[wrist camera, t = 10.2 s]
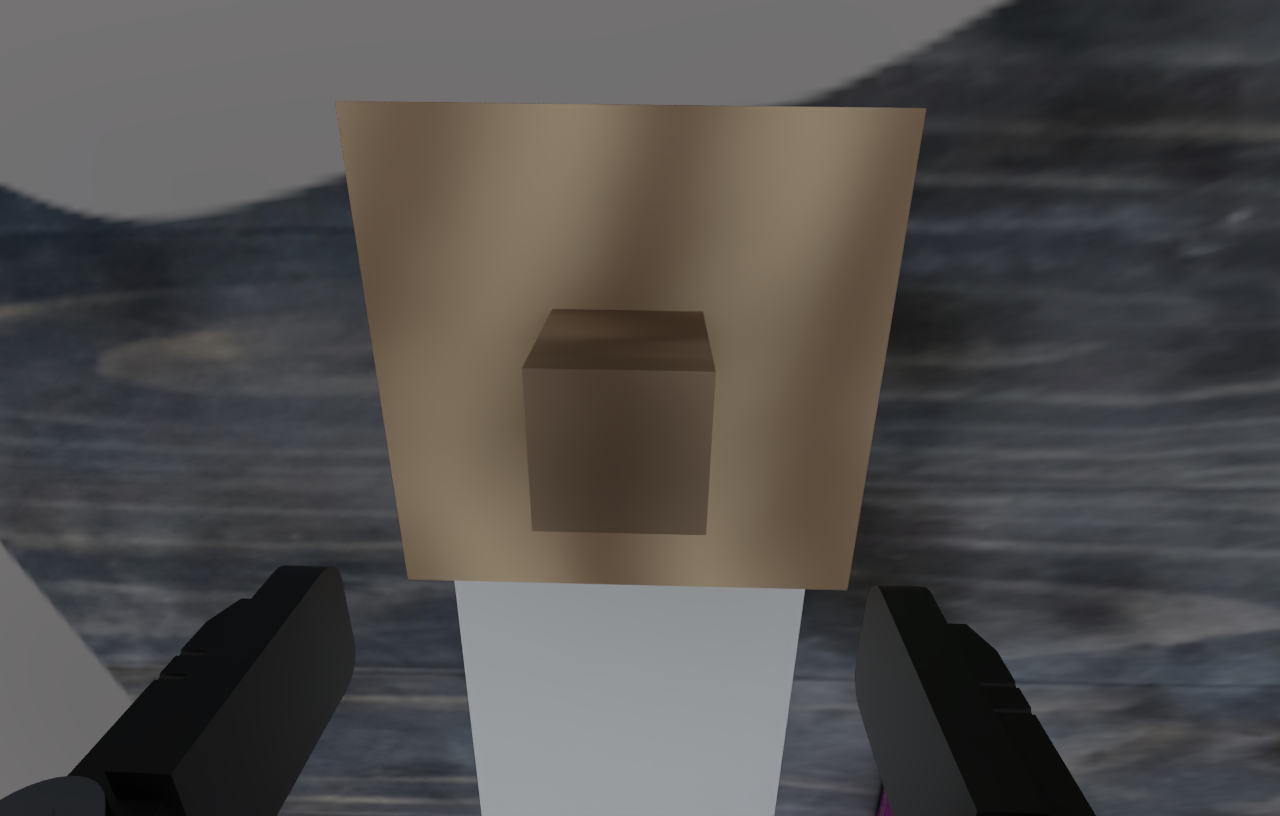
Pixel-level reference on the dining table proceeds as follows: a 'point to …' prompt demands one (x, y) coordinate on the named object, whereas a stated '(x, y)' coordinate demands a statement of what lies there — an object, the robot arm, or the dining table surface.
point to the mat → (628, 696)
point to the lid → (629, 332)
